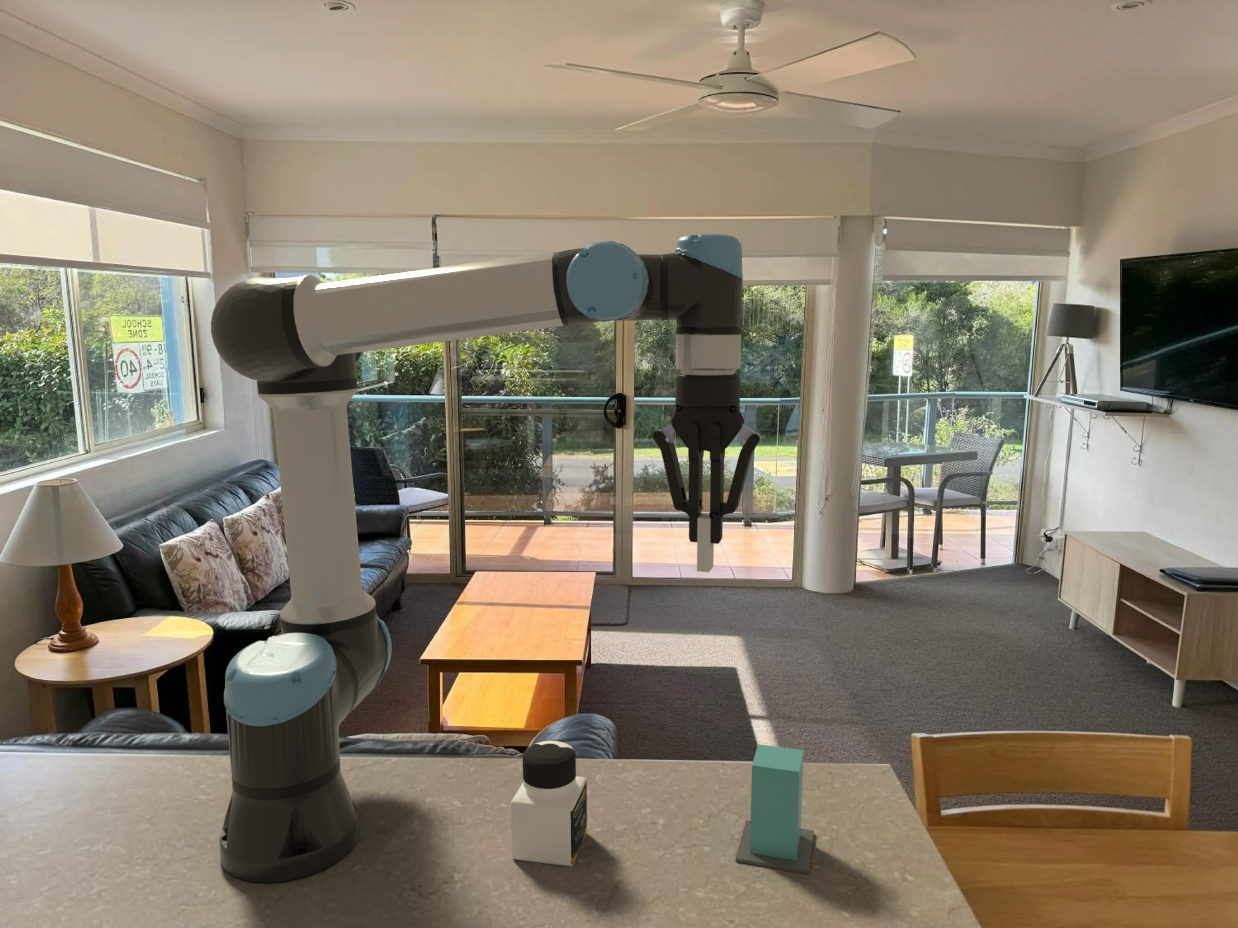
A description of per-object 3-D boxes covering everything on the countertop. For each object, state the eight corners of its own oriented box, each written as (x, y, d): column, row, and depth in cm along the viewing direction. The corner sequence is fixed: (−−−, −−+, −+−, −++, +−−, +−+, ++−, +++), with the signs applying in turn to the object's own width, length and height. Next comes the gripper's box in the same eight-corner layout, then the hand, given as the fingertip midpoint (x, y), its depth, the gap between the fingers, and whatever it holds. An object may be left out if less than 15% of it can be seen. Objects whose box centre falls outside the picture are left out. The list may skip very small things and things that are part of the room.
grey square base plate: (735, 861, 99) (736, 799, 98) (746, 822, 107) (747, 765, 106) (808, 873, 97) (810, 810, 96) (813, 833, 104) (815, 775, 103)
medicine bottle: (572, 867, 98) (571, 766, 96) (511, 860, 99) (508, 760, 98) (587, 832, 105) (587, 737, 103) (530, 825, 106) (528, 731, 104)
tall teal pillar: (749, 852, 100) (751, 765, 98) (756, 827, 105) (758, 744, 103) (796, 860, 99) (799, 771, 97) (800, 834, 103) (803, 749, 102)
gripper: (768, 371, 105) (763, 564, 108) (661, 369, 108) (660, 557, 112) (759, 374, 97) (755, 581, 101) (645, 373, 101) (644, 572, 105)
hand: (705, 568), depth 106 cm, fingers closed
